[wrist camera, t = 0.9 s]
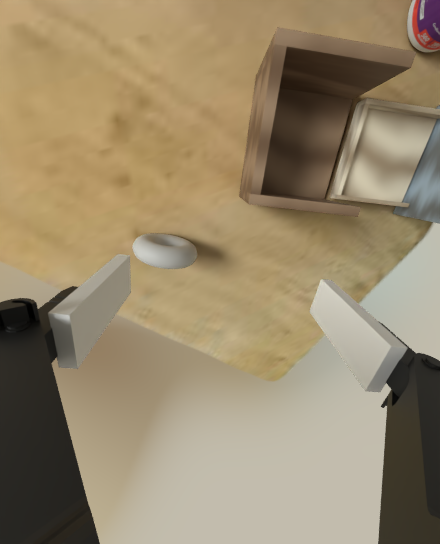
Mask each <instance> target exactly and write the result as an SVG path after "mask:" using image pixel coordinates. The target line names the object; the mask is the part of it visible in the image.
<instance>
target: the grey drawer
mask: <svg viewBox="0 0 440 544" xmlns="http://www.w3.org/2000/svg"><path fill="white" fill-rule="evenodd" d="M329 197H330V198H335V199H343V200H351V201H359V202H367V203H375V204H384V205H392V206H396V207H395V209H394V212H393V214H397V215H401V216H406V217H411V218H416V219H420V220H425V221H430V222H435V223H440V105H439V106H437V108H436V109H435V108H428V107H422V106H416V105H410V104H403V103H397V102H391V101H384V100H378V99H372V98H366V99H364V100H362V101H360V102H358V103H357V105H356V108H355V111H354V115H353V118H352V122H351V125H350V128H349V132H348V135H347V139H346V142H345V145H344V149H343V152H342V155H341V159H340V162H339V166H338V169H337V172H336V176H335V179H334V183H333V186H332V189H331V193H330V196H329Z"/></svg>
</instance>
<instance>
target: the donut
mask: <svg viewBox="0 0 440 544" xmlns="http://www.w3.org/2000/svg"><path fill="white" fill-rule="evenodd" d="M133 251H134V253H135V255H136V257H137V258H138V259H139V260H141V261H142V262H144V263H146V264H148V265H151V266H154V267H158V268H164V269H180V268H185V267H188V266H190V265H192V264H193V262H194V261H195V260H196V258H197V251H196V247H195V246H194V245H193V244H192V243H191V242H189V241H188V240H186V239H184V238H181V237H178V236H174V235H169V234H161V233H150V234H144V235H141V236H139V237H138V238H137V239H136V240H135V242H134V243H133Z"/></svg>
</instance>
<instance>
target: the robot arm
mask: <svg viewBox="0 0 440 544" xmlns="http://www.w3.org/2000/svg"><path fill="white" fill-rule="evenodd" d="M130 293H131V280H130V255H121V254H117V255H116V256H115V257H114V258H113V259H111V260H110V261H109V262H108V263H107V264H106V265H104V266H103V267H102V268H101V269H100V270H98V271H97V272H96V273H95V274H94V275H92V276H91V277H90V278H89V279H88V280H87V281H85V282H84V283H83V284H82V285H81V286H79V287H74V286H72V287H70V288H67V289H65V290H63V291H61V292H60V293H59V294H57V295H56V296H55V298H52V299H51V300H50V301H49V302H47V303H46V304H44V305H43V306H42V307H41V308H39V309H37V304H36V302H35V301H34V300H31V299H25V298H19V299H11V300H7V301H3V302H1V303H0V544H100V543H99V539H98V536H97V532H96V528H95V524H94V521H93V517H92V513H91V510H90V507H89V505H88V501H87V497H86V494H85V490H84V486H83V482H82V478H81V475H80V471H79V467H78V463H77V459H76V456H75V452H74V448H73V444H72V440H71V436H70V433H69V429H68V425H67V422H66V417H65V414H64V410H63V406H62V402H61V398H60V395H59V391H58V387H57V383H56V379H55V376H54V372H53V368H52V364H51V363H52V362H53V360H55V358H56V357H57V360H58V365H59V367H62V368H76V369H78V368H79V366H80V365H81V363H82V362H83V360H84V359H85V358H86V356H87V355H88V353H89V352H90V350H91V349H92V347H93V346H94V345H95V343H96V342H97V340H98V339H99V337H100V336H101V335H102V333H103V332H104V330H105V329H106V327H107V326H108V324H109V323H110V322H111V320H112V319H113V317H114V316H115V314H116V313H117V311H118V310H119V309H120V307H121V306H122V304H123V303H124V301H125V300H126V298H127V297H128V296H129V294H130ZM310 313H311V315H312V316H313V317H314V319H315V320H316V322H317V323H318V325H319V326H320V327H321V329H322V330H323V332H324V333H325V335H326V336H327V337H328V339H329V340H330V342H331V343H332V344H333V346H334V347H335V349H336V350H337V352H338V353H339V354H340V356H341V357H342V359H343V360H344V362H345V363H346V364H347V366H348V367H349V369H350V370H351V371H352V373H353V374H354V376H355V377H356V379H357V380H358V381H359V383H360V384H361V386H362V387H363V389H364V390H365V391H372V392H381V390H382V388H383V387H384V385H385V384H386V383H387V384H388V386H389V387H390V388H391V389H392V390H391V391H390V393H389V394H388V396H387V398H386V399H385V401H384V402H383V404H382V405H381V407H382V408H384V407H385V406H387V420H386V434H385V449H384V465H383V480H382V496H381V510H380V526H379V541H378V544H440V361H439V360H437V359H435V358H433V357H431V356H428V355H425V354H421V353H417V354H416V353H415V352H414V351H412V349H410V348H409V347H408V346H407V345H406V344H405V343H404V342H402V341H401V340H400V339H399V338H398V337H396V336H395V334H393V333H392V332H390V330H389V329H388V328H387V327H385V326H384V325H383V324H382V323H380V322H378V321H377V320H376V319H374V317H372V316H371V315H370V314H369V313H368V312H367V311H366V310H365V309H363V308H362V307H361V306H360V305H359V304H358V303H357V302H356V301H354V300H353V299H352V298H351V297H350V296H349V295H348V294H347V293H346V292H344V291H343V290H342V289H341V288H340V287H339V286H338V285H337V284H335V283H334V282H333V281H332V280H326V279H321V281H320V284H319V287H318V290H317V292H316V295H315V298H314V301H313V303H312V306H311V309H310Z"/></svg>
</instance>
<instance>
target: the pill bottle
mask: <svg viewBox="0 0 440 544" xmlns="http://www.w3.org/2000/svg"><path fill="white" fill-rule="evenodd" d="M407 32H408V37H409V40H410V42H411V43H412V45H413V46H414V47H415V48H416V49H418V50H419V51H422V52H434V51H437V50H440V0H413V1H412V3H411V6H410V9H409V13H408V19H407Z"/></svg>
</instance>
